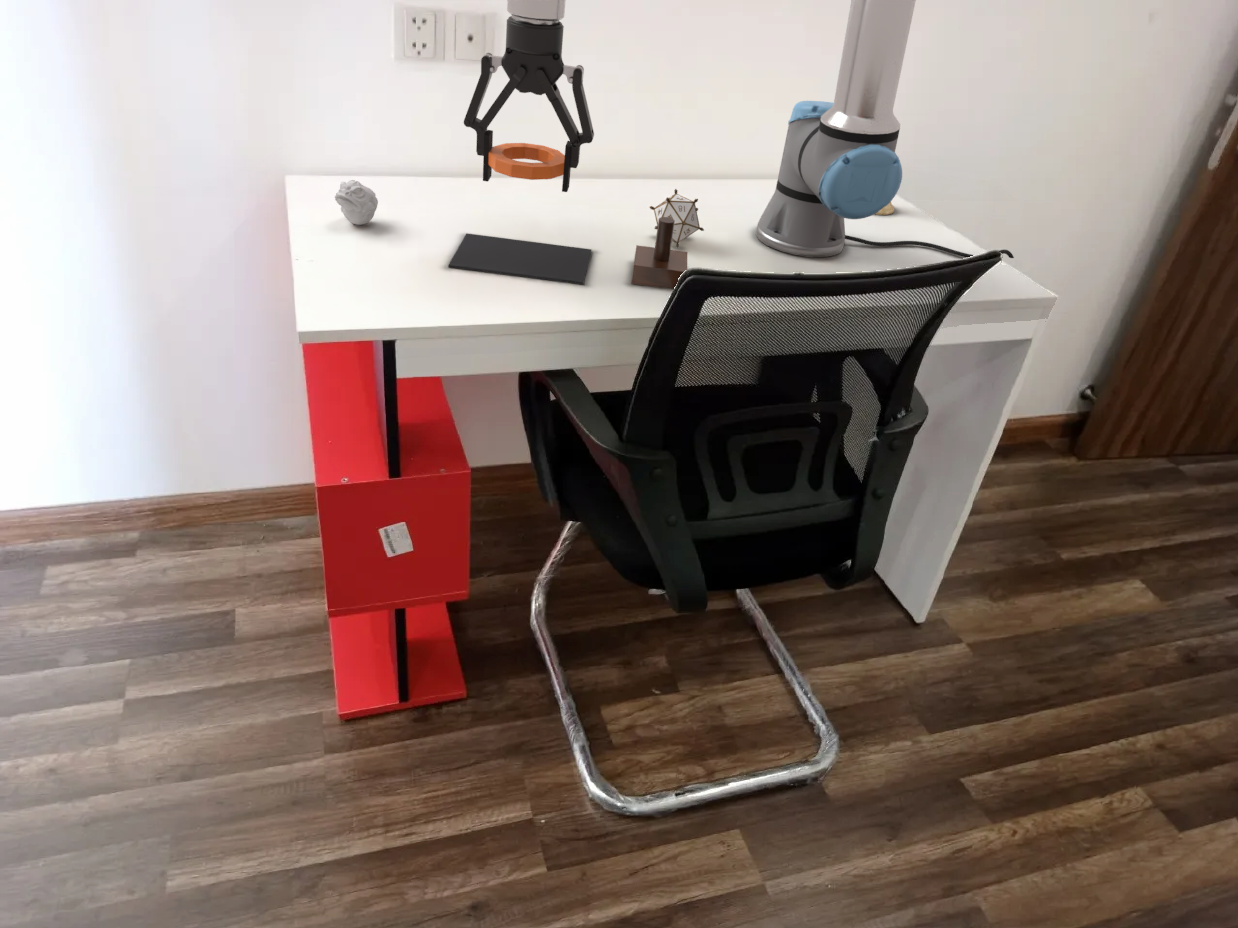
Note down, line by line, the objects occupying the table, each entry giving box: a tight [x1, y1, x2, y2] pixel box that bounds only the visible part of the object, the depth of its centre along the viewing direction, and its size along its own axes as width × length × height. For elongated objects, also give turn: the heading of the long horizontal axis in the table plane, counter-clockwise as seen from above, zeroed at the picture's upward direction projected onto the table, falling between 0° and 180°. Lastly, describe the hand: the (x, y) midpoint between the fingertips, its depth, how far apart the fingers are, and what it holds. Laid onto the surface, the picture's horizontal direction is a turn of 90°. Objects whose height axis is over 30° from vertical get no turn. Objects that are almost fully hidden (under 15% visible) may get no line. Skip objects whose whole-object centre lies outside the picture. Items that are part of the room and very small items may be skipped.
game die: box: [649, 188, 705, 249], centre depth 149 cm, size 9×8×10 cm
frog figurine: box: [334, 179, 379, 226], centre depth 141 cm, size 6×7×7 cm
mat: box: [447, 232, 592, 285], centre depth 139 cm, size 20×13×1 cm, turn 86°
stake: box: [631, 217, 689, 290], centre depth 136 cm, size 8×8×9 cm
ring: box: [488, 142, 565, 181], centre depth 130 cm, size 11×11×2 cm
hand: (526, 183), depth 132 cm, fingers closed on ring, 11 cm apart
